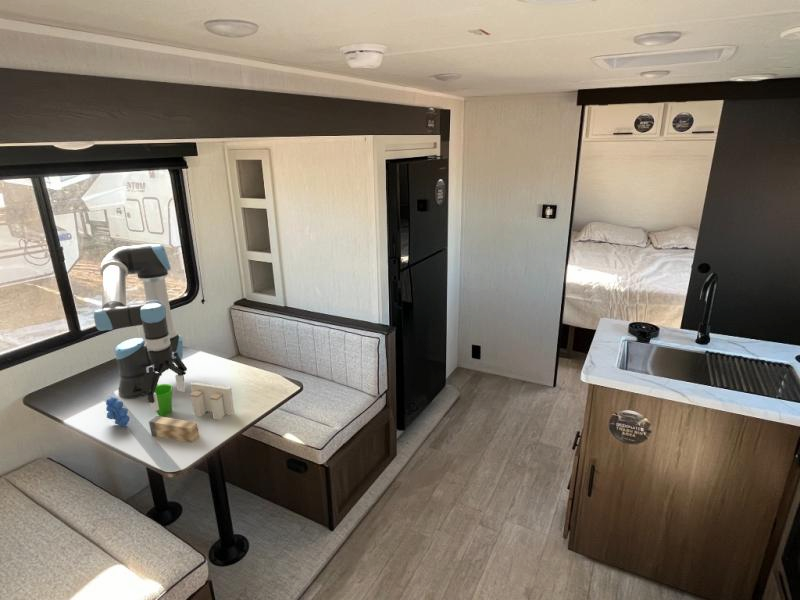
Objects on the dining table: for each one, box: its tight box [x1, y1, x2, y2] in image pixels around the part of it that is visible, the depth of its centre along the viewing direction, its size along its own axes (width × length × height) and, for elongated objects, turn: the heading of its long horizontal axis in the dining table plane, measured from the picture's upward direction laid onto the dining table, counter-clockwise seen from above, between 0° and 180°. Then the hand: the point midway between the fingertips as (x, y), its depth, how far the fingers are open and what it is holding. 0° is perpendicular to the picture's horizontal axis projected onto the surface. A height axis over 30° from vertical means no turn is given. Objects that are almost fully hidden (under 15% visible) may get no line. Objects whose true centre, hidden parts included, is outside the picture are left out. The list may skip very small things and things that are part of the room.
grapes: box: [105, 396, 131, 427], centre depth 179 cm, size 12×7×12 cm, turn 63°
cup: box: [150, 383, 174, 417], centre depth 187 cm, size 9×9×11 cm
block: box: [148, 415, 200, 443], centre depth 174 cm, size 18×4×6 cm, turn 75°
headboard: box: [189, 381, 235, 420], centre depth 187 cm, size 18×6×12 cm, turn 76°
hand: (168, 399), depth 170 cm, fingers open, 13 cm apart
